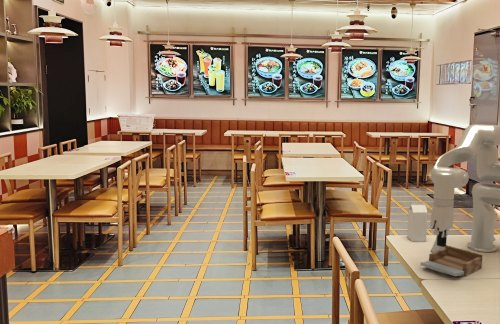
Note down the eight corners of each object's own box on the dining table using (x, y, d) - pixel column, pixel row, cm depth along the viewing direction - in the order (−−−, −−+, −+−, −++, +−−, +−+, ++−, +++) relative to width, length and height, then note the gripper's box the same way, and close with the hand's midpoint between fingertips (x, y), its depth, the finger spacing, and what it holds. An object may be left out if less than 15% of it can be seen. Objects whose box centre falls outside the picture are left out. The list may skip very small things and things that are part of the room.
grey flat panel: (429, 260, 200) (420, 262, 196) (464, 271, 189) (455, 273, 184) (428, 265, 201) (420, 266, 196) (463, 275, 189) (455, 277, 184)
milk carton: (425, 241, 233) (428, 204, 230) (411, 241, 233) (413, 204, 230) (421, 237, 240) (422, 201, 237) (407, 237, 240) (408, 201, 237)
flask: (448, 255, 214) (449, 234, 212) (431, 254, 215) (433, 233, 213) (445, 250, 221) (446, 229, 219) (429, 249, 222) (430, 228, 220)
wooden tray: (445, 258, 210) (446, 245, 209) (481, 268, 198) (482, 254, 197) (428, 265, 201) (429, 251, 200) (465, 276, 189) (466, 262, 188)
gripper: (444, 197, 194) (442, 239, 198) (424, 203, 185) (422, 247, 188) (461, 200, 189) (459, 243, 192) (442, 207, 179) (440, 252, 183)
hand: (441, 245), depth 190 cm, fingers closed
